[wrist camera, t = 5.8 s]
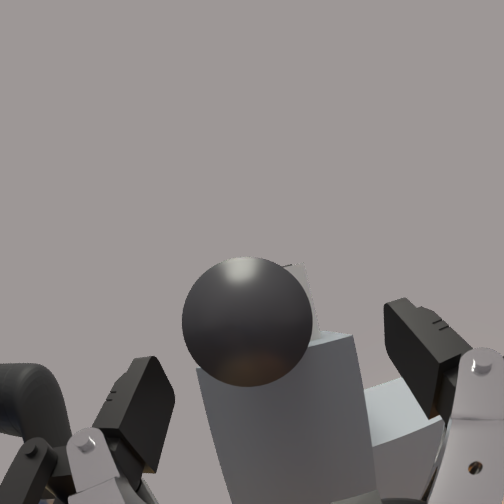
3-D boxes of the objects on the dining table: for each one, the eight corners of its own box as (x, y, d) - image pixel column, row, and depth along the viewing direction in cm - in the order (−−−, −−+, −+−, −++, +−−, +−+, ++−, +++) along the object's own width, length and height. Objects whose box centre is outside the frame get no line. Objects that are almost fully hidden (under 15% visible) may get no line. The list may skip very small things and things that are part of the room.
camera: (153, 398, 9) (127, 206, 10) (246, 348, 31) (234, 286, 32) (372, 358, 8) (316, 158, 10) (311, 334, 30) (297, 272, 32)
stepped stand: (281, 621, 10) (195, 368, 18) (286, 551, 24) (235, 349, 32) (457, 571, 8) (466, 296, 17) (418, 516, 23) (397, 309, 31)
